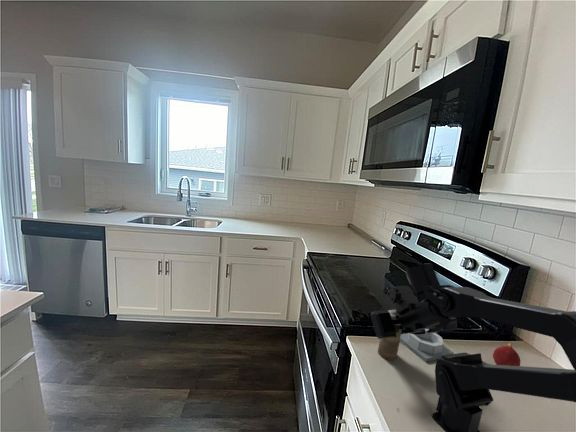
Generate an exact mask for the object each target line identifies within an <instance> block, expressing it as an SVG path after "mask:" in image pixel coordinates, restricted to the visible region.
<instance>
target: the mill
mask: <svg viewBox="0 0 576 432" xmlns="http://www.w3.org/2000/svg"><path fill="white" fill-rule="evenodd" d="M387 311H388V312H389V313H390V315H391V318H392V319H394V320H399V319H396V317H395V316H396V315H399V314H397V311H396V309H389V310H387ZM396 326H401V325H396ZM402 333H403V332H402V330H399V332H398V333H396V336H397V337H391V338H382V339H379V343H378V347H377V354H378V355H379V356H380V357H381V358H382V359H385V360H388V361H395V360H396V359H397V357H398V352H399V347H400V343H401V342H400V337H401V334H402Z"/></svg>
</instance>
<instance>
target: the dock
mask: <svg viewBox="0 0 576 432" xmlns="http://www.w3.org/2000/svg"><path fill="white" fill-rule="evenodd" d="M428 330H429V329H425V331H426V333H425V334H419V335H416V334H410V333H407V334H406V333H405V332H404V333H401V337H400V342H399V343H401V344H403V345H404V346H405V347H407V348H408V349H409V350H410V351H411V352H413V353H414V354H415V355H416V356H417V357H419V359H421V360H422V361H424V362H425V363H428V362H432V361H435V360H436V361H437V360H439V359H443V358H442V355H450V354H455V353H454V351H453V350H451V349H450V348H449V347H447V346H445V345H444V341H443V340H444V339H443V337H442V336H440V335H439V334H438V333H429V334H428V333H427V331H428Z"/></svg>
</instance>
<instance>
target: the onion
mask: <svg viewBox="0 0 576 432" xmlns="http://www.w3.org/2000/svg"><path fill="white" fill-rule="evenodd" d="M492 358H493V360H494V363H495V365H508V366H521V357H520V354H519V353H518V352H517V351H516V350H515V349H514V348H513V346H512V344H511V343H507V344H506V345H502V346H499V347H496V348H495V349H494V350H493V354H492Z"/></svg>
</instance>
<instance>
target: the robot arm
mask: <svg viewBox="0 0 576 432" xmlns="http://www.w3.org/2000/svg"><path fill="white" fill-rule="evenodd" d="M404 272H405V275H406V278H407V280H408V282H409V285H410V286H409V285H396V286H394V287H393V286H392V287H391V288H389V289H388V292H387V294H386V295H387V298H388V299H389V301H390V302H391V303H392V304H396V306H397V308H395V310H396V311H397V314H399V315H396V316H395V317H396V319H399V320H394V319H392V318H391V315H390V313H389V312H388V311H389V310H387V309H383V310H381V309H380V310H374V311H372V312H371V313H370V314H369V315H370V318H371V323H372V326H373V329H374V332H375V337H376V338H378V339H379V340H380V339H382V338H391V337H397V336H396V333H398V332H399V330H402V332H401V333H404V334H405V333H406V334H407V333H410V334H416V335H419V334H425V333H426V331H425V329H429V330H428V331H427V333H428V334H429V333H436V334H438V333H440V332H441V331H444V332H447V331H455V330H456V331H457V329H458V324H457V322H458V319H457V318H460V319H463V318H464V319H467V318H468V319H481V320H482V319H483V320H486V321H490V322H494V323H497V324H501V325H505V326H509V327H512V328H515V329H519V330H520V329H521V330H525V331H528V332H531V333H535V334H539V335H543V336H548V337H551V338H553V339H554V340H555V341H556V342H557V343H558V344H559V345H560V347H561V349H562V350H563V352H564V354H565V356H566V357H567V359H568V361H569V363H570V364H571V366H572V368H573V369H570V368H569V369H568V368H556V367H555V368H553V367H537V366H535V367H534V366H523V365H522V366H521V365H520V366H508V365H496V364H493V363H492V364H490V363H487V362H485V361H484V360H483V359H482V353H473V354H470V353H468V352H457V353H454V354H450V355H442V358H441V359H437V360H436V361H435V369H434V377H435V389H436V394H437V395H438V400H437V404H436V408H435V410H436V412H433V413H431V417H432V419H433V420H434V421H436V423H438V425H439V426H440V427H441V428H442V429H443V430H445V431H446V432H481V430H479V429H478V428H479V426H480V422H481V417H482V414H483V408H481V407H485V406H486V407H487V406H489V405H491V403H493V402H494V398H493V395H492V393H491V391H497V392H505V393H512V394H518V395H525V396H531V397H532V396H533V397H537V398H538V397H540V398H543V399H544V398H546V399H553V400H559V401H567V402H570V403H571V402H573V403H576V311H575V310H572V311H571V310H570V311H569V310H568V311H566V310H559V309H555V308H551V307H543V306H539V305H534V304H528V303H523V302H517V301H512V300H507V299H501V298H495V297H492V296H489V295H487V294H485V293H484V292H483V291H479V290H477V289H475V288H472V287H469V286H468V287H467V286H460V287H459V286H453V285H451V284H440V282H439V281H440V280H439V278H438V277H437V275H436V272H435V270H434V266H433V264H432V263H429V262H428V263H427V262H426V263H423V264H421V265H416V266H412V267H409V268H407V269H406V270H405V271H404ZM417 296H419V298H421V299H423V298H426V299H423V300H421V301H419V300H418V297H417ZM396 325H401V326H396Z"/></svg>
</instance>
